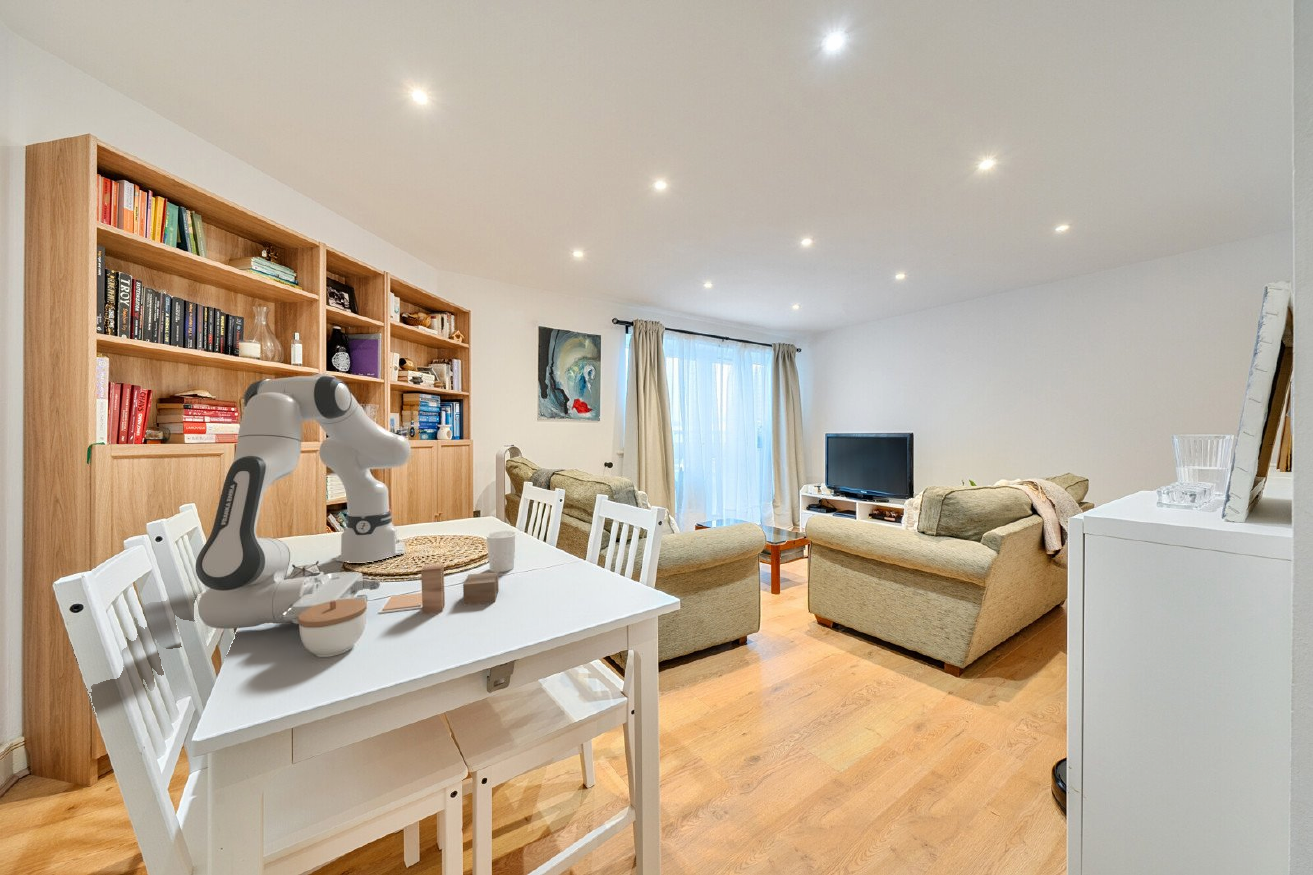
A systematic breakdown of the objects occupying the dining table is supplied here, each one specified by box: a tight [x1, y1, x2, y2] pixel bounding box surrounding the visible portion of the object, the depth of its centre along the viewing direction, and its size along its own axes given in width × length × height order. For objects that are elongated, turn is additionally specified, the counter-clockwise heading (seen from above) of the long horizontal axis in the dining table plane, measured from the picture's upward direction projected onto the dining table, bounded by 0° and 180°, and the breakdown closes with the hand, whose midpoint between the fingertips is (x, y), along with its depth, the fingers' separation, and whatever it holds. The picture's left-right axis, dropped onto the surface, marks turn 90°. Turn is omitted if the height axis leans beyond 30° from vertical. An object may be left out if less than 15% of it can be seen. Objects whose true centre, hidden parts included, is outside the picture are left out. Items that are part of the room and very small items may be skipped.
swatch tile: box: [378, 592, 422, 614], centre depth 109 cm, size 9×9×1 cm
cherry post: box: [420, 562, 446, 615], centre depth 106 cm, size 4×4×10 cm
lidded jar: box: [297, 599, 368, 658], centre depth 88 cm, size 11×11×9 cm
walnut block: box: [462, 572, 500, 606], centre depth 112 cm, size 7×7×5 cm
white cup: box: [486, 530, 516, 573], centre depth 133 cm, size 8×8×10 cm
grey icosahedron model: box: [287, 560, 322, 579], centre depth 115 cm, size 9×8×10 cm
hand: (373, 591), depth 102 cm, fingers open, 8 cm apart
